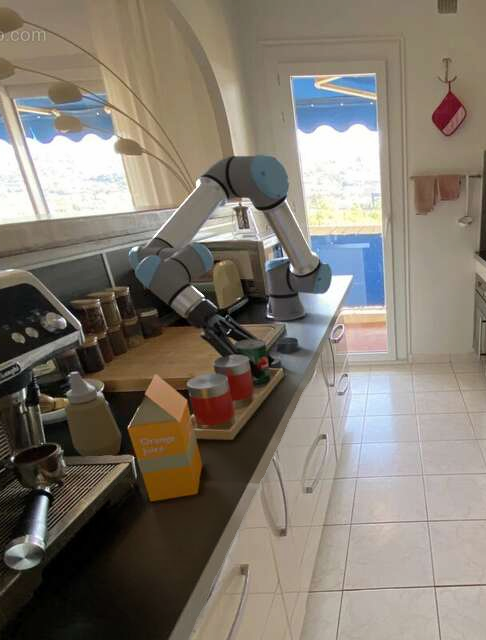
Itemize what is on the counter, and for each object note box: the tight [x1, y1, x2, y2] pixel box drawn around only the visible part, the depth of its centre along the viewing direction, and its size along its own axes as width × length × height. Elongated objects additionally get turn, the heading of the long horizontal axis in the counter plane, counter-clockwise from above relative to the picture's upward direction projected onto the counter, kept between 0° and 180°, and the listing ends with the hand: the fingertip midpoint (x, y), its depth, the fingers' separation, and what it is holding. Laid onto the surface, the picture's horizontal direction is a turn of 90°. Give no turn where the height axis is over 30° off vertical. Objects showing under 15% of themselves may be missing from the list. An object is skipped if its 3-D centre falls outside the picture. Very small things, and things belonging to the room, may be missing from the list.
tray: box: [190, 368, 285, 441], centre depth 110 cm, size 35×12×2 cm, turn 176°
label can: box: [186, 373, 236, 430], centre depth 97 cm, size 8×8×11 cm
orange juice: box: [127, 373, 203, 502], centre depth 77 cm, size 8×9×20 cm
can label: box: [212, 355, 255, 409], centre depth 108 cm, size 8×8×11 cm
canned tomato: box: [233, 338, 271, 387], centre depth 119 cm, size 8×8×11 cm
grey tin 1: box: [269, 355, 283, 369], centre depth 130 cm, size 7×7×3 cm
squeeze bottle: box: [64, 371, 122, 457], centre depth 86 cm, size 8×8×18 cm
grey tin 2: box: [275, 336, 300, 354], centre depth 146 cm, size 7×7×3 cm
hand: (266, 369), depth 119 cm, fingers closed on canned tomato, 8 cm apart
